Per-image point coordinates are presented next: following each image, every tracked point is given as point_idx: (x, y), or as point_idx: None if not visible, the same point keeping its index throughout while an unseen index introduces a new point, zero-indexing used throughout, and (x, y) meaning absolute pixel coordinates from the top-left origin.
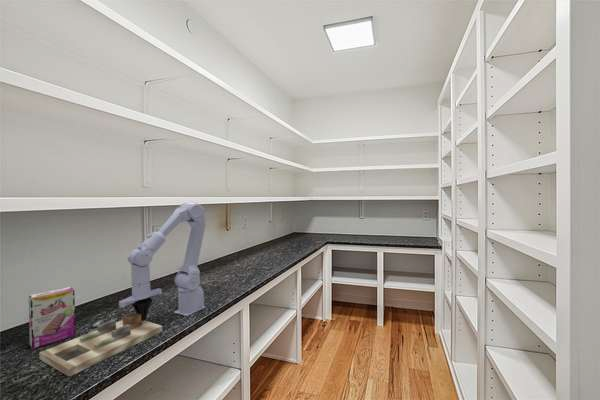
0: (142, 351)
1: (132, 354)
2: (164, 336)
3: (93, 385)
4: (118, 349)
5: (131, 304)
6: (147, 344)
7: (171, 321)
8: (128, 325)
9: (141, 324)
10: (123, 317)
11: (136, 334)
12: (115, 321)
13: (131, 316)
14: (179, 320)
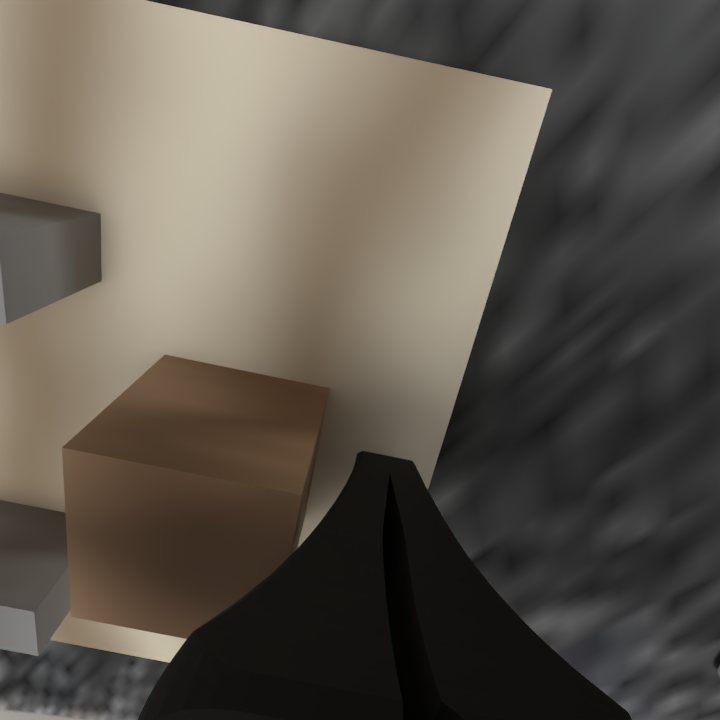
0: (78, 691)
1: (19, 661)
2: None
3: None
4: None
5: (192, 641)
6: (157, 665)
7: (584, 597)
8: (22, 641)
9: (326, 498)
10: (69, 464)
11: None
12: (14, 315)
13: (140, 587)
14: (614, 649)
